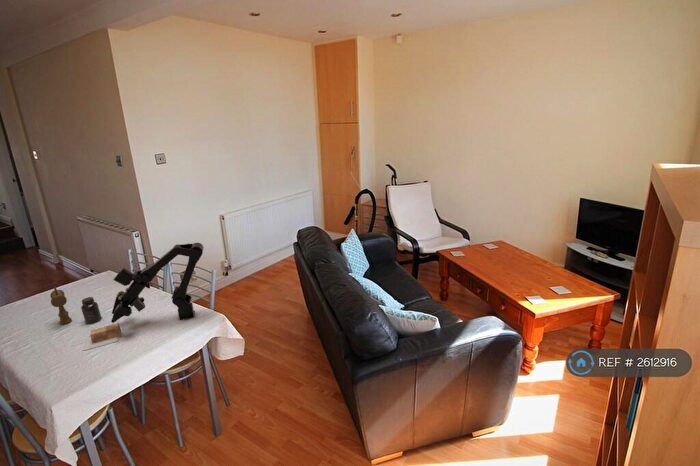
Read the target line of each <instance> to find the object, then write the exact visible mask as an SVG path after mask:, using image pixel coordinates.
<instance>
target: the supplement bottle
mask: <svg viewBox="0 0 700 466" xmlns="http://www.w3.org/2000/svg"><path fill="white" fill-rule="evenodd" d="M81 304H82V305H81V307H80V309H81V312H82V316H83V318H84V319H83V320H84V322H85V323H86V324H88V325H90V324H95V323H98V322H100V321H101V319H102V315H101V311H100V307H99V304H98V303H97V301H95V299H94V297H93V296H88V297H85V298H83V299H81Z"/></svg>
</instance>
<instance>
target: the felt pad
mask: <svg viewBox="0 0 700 466" xmlns="http://www.w3.org/2000/svg"><path fill="white" fill-rule="evenodd" d="M117 342H119V336H118V337H115V338H111V339H107V340H104V341H100V342H97V343H93V342H92V340H91V337H90V335H88V336H85V339H84V344H83V345H84V346H83V350H82V351H83V352H85V351H88V350H89V351H90V350H92V349H96V348H99V347H103V346H105V345H106V346H107V345H110V344H114V343H117Z"/></svg>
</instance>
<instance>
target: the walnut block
mask: <svg viewBox="0 0 700 466" xmlns="http://www.w3.org/2000/svg"><path fill="white" fill-rule="evenodd" d="M121 328H122V327H121V325H120V322H117V323H112V324H108V325H106V326H102V327H97V328H93V329H91V330H90V335H89V336H90V337H91V340H92V342H93V343H97V342H100V341H104V340H107V339H111V338H115V337H118V338H119V337H121V336H122V329H121Z"/></svg>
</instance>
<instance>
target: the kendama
mask: <svg viewBox="0 0 700 466" xmlns="http://www.w3.org/2000/svg"><path fill="white" fill-rule="evenodd" d="M67 301H68V299H67V297H66V296H65V292H64V290H62V289H57V287H56V286H53V291H51V293H50V304H51V306H52V307H54V308H58V315H57V317H59V324H60V325H66V324H69V323H71V322H72V321H73V320H72V318H71V317H70V315H69V313H70V312H69V311H67V310H66V308H65V305H66V304H67Z"/></svg>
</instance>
